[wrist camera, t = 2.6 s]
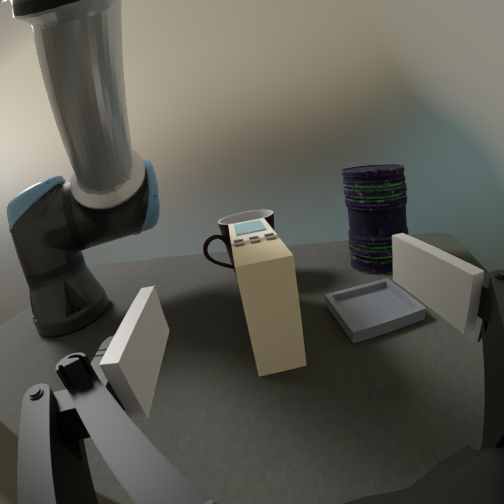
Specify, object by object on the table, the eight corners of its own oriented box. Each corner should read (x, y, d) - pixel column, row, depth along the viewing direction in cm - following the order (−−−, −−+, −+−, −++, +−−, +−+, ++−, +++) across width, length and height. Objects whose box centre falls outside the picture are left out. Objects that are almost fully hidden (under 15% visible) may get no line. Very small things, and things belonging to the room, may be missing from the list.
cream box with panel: (251, 338, 32) (230, 241, 29) (244, 302, 41) (227, 223, 37) (291, 330, 32) (276, 232, 29) (276, 296, 41) (263, 216, 37)
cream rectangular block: (258, 376, 26) (234, 264, 22) (252, 344, 31) (231, 245, 28) (306, 365, 26) (292, 252, 23) (293, 335, 31) (278, 235, 28)
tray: (353, 343, 28) (353, 332, 27) (325, 304, 36) (324, 294, 36) (424, 318, 28) (426, 308, 28) (387, 287, 37) (387, 278, 36)
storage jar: (347, 254, 51) (337, 168, 46) (399, 248, 48) (394, 163, 44) (354, 278, 41) (344, 173, 37) (416, 270, 39) (413, 167, 34)
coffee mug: (275, 262, 53) (266, 207, 50) (289, 279, 45) (280, 215, 42) (211, 277, 52) (198, 221, 49) (214, 297, 44) (198, 233, 41)
